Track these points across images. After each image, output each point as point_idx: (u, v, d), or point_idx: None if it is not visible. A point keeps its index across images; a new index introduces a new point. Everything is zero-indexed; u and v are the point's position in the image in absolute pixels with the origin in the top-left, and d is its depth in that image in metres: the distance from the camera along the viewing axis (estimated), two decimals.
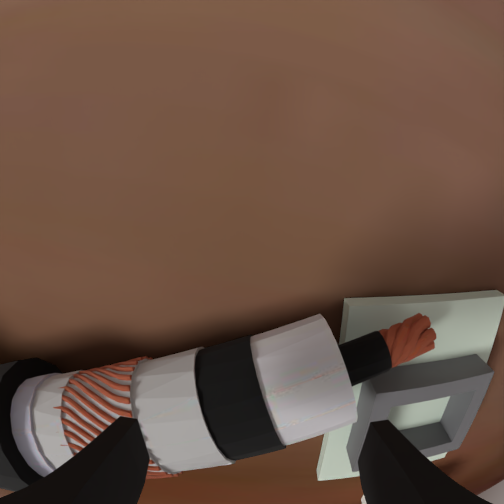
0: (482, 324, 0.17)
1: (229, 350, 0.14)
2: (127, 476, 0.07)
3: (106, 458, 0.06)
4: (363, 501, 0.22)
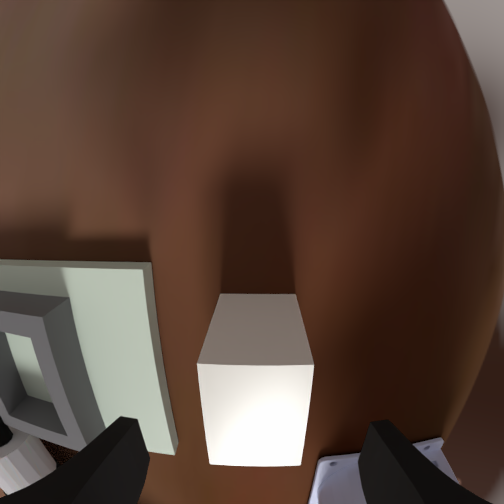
0: None
1: None
2: (127, 476, 0.07)
3: (106, 458, 0.06)
4: None
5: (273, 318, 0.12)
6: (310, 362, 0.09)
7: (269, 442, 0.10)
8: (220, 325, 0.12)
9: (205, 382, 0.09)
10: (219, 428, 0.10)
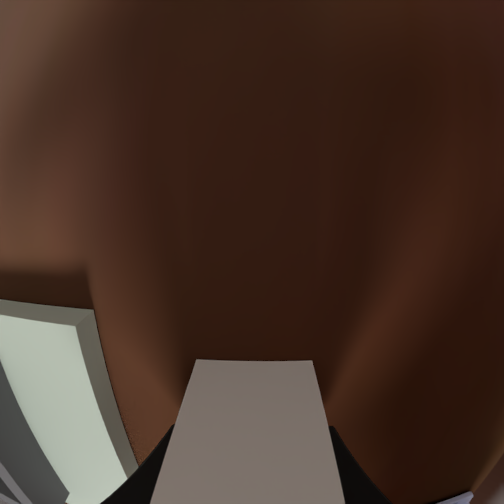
0: None
1: None
2: None
3: None
4: None
5: (279, 420, 0.07)
6: None
7: None
8: (189, 437, 0.06)
9: None
10: None
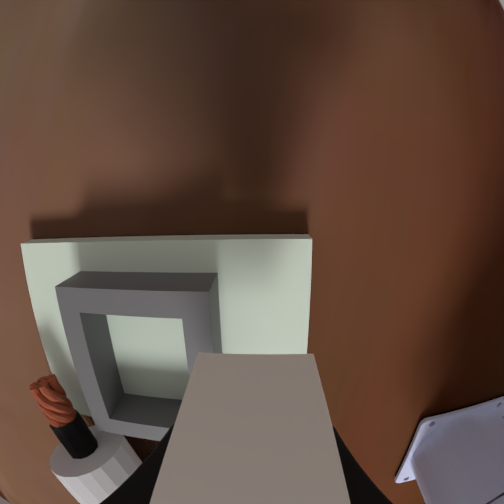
0: (49, 275, 0.15)
1: None
2: None
3: None
4: None
5: (281, 412, 0.07)
6: None
7: None
8: (191, 428, 0.06)
9: None
10: None
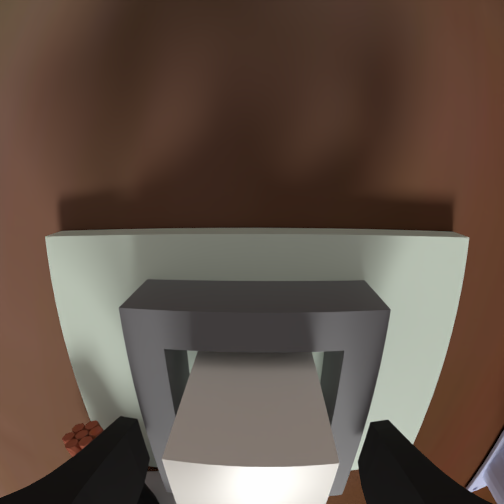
0: (91, 284, 0.11)
1: None
2: (127, 476, 0.07)
3: (106, 458, 0.06)
4: None
5: (277, 373, 0.08)
6: (333, 459, 0.05)
7: None
8: (201, 386, 0.08)
9: (177, 479, 0.05)
10: None
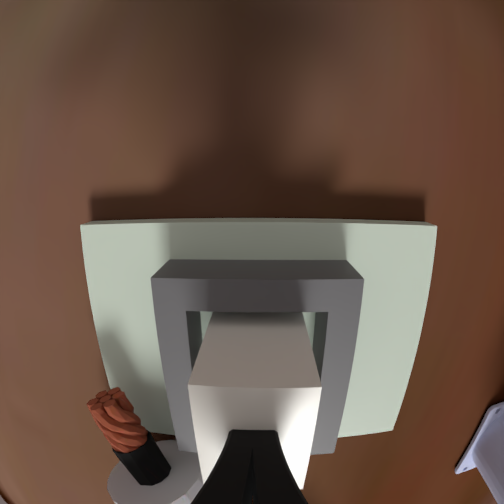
0: (121, 264, 0.13)
1: None
2: (250, 490, 0.07)
3: (246, 476, 0.06)
4: None
5: (275, 329, 0.11)
6: (317, 384, 0.08)
7: None
8: (215, 338, 0.10)
9: (198, 404, 0.08)
10: (214, 452, 0.08)
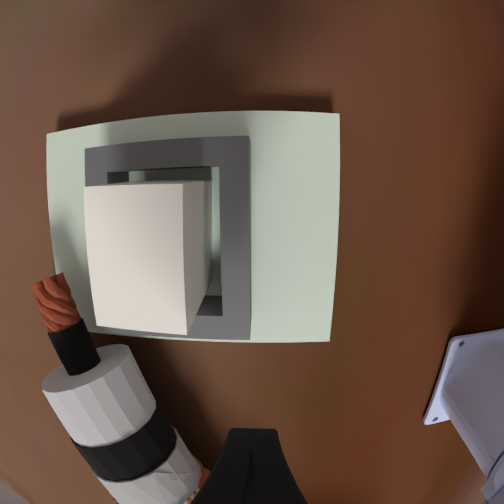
0: (72, 160, 0.15)
1: None
2: (250, 490, 0.07)
3: (245, 476, 0.06)
4: None
5: None
6: (180, 183, 0.09)
7: (148, 292, 0.10)
8: None
9: (89, 208, 0.10)
10: (101, 268, 0.10)
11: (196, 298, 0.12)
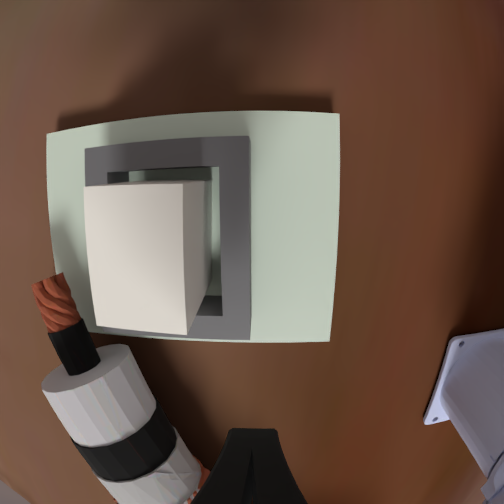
0: (72, 160, 0.15)
1: None
2: (250, 490, 0.07)
3: (245, 476, 0.06)
4: None
5: None
6: (180, 183, 0.09)
7: (148, 292, 0.10)
8: None
9: (89, 208, 0.10)
10: (101, 268, 0.10)
11: (196, 298, 0.12)
